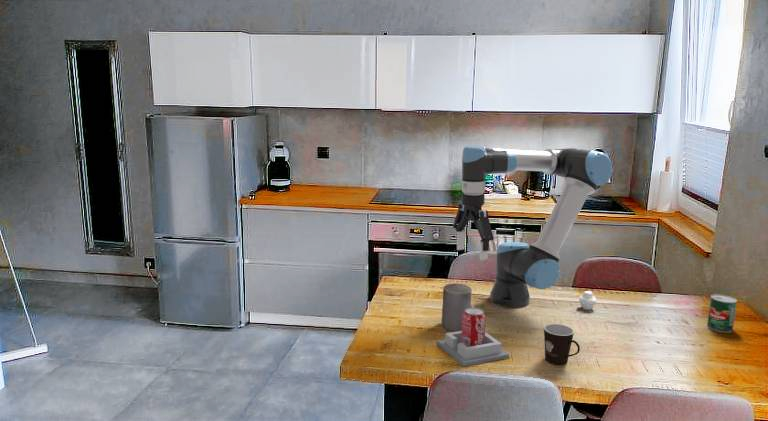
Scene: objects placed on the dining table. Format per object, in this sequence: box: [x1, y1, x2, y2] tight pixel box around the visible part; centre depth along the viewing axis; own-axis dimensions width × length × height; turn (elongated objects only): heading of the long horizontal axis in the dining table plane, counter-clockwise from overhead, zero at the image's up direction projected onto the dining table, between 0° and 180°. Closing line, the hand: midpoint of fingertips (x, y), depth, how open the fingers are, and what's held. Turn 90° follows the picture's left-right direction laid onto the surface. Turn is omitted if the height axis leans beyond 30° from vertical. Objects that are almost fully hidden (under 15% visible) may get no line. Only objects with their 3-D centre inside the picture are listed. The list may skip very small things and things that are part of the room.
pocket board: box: [437, 331, 510, 367], centre depth 174 cm, size 16×16×4 cm
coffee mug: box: [543, 323, 581, 366], centre depth 167 cm, size 12×9×10 cm
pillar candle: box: [441, 283, 473, 332], centre depth 192 cm, size 10×10×15 cm
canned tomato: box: [706, 293, 738, 334], centre depth 195 cm, size 8×8×11 cm
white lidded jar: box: [578, 290, 597, 311], centre depth 211 cm, size 6×6×7 cm
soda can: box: [461, 307, 486, 347], centre depth 173 cm, size 7×7×12 cm
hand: (471, 254), depth 191 cm, fingers open, 13 cm apart
